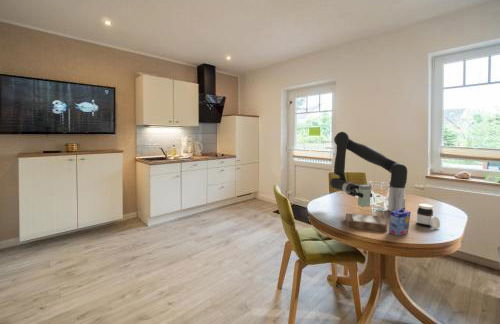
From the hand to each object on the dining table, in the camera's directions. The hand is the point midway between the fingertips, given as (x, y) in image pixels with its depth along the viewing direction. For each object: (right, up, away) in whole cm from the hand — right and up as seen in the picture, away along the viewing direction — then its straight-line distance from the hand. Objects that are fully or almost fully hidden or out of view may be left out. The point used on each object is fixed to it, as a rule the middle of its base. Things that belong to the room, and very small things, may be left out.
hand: (367, 195), depth 143 cm
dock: (+1, -18, +5) cm, 19 cm away
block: (0, -6, +3) cm, 7 cm away
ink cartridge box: (+14, -20, -7) cm, 25 cm away
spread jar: (+37, -18, +3) cm, 41 cm away
